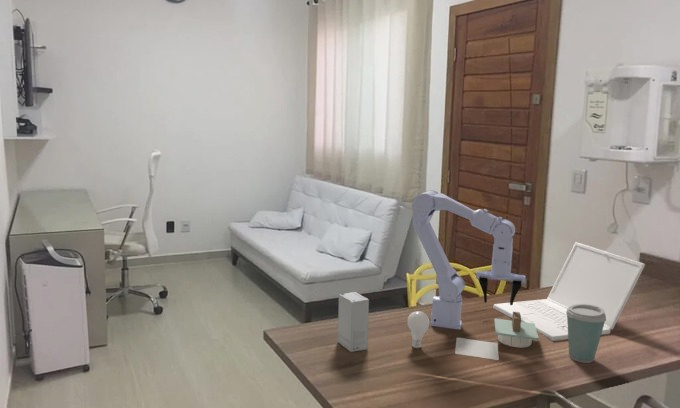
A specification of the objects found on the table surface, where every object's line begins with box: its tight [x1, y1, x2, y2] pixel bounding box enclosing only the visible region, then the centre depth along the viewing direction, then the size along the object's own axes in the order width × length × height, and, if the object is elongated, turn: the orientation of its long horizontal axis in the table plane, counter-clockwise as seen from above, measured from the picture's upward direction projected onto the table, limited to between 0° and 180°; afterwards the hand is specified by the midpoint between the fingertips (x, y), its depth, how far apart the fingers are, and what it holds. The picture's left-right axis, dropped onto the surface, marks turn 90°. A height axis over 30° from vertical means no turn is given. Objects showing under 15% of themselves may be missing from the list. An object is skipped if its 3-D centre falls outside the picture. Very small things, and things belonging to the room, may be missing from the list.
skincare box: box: [337, 291, 370, 353], centre depth 162 cm, size 8×6×15 cm
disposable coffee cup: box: [566, 304, 606, 364], centre depth 162 cm, size 11×11×15 cm
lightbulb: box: [406, 310, 431, 349], centre depth 163 cm, size 6×6×11 cm
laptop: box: [493, 241, 646, 342], centre depth 193 cm, size 30×35×23 cm
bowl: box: [497, 335, 533, 348], centre depth 172 cm, size 10×10×4 cm
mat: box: [454, 337, 500, 361], centre depth 165 cm, size 12×12×1 cm
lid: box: [494, 312, 539, 341], centre depth 171 cm, size 12×12×5 cm
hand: (498, 302), depth 175 cm, fingers open, 7 cm apart
